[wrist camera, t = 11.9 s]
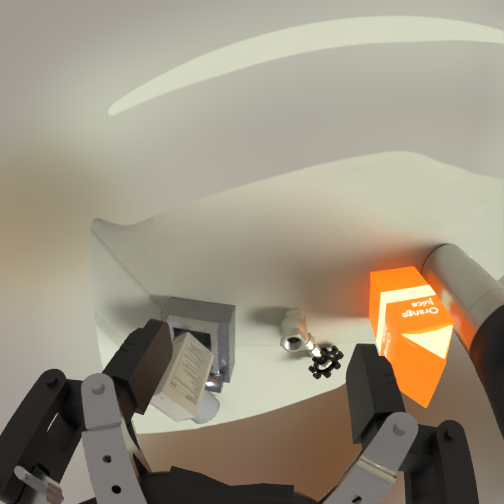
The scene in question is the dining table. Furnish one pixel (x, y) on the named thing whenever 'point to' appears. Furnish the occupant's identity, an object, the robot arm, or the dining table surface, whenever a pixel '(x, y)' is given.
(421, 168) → the dining table surface
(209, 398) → the ceramic mug
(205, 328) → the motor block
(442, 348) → the orange juice
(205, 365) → the skincare box
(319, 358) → the valve
